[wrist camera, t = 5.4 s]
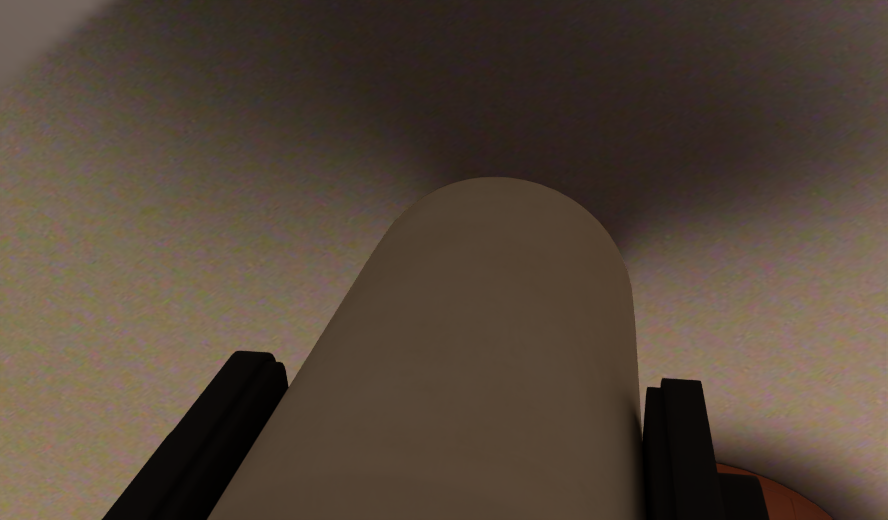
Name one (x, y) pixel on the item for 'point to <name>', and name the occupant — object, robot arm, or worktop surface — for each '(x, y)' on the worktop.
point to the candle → (465, 376)
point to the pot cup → (782, 499)
